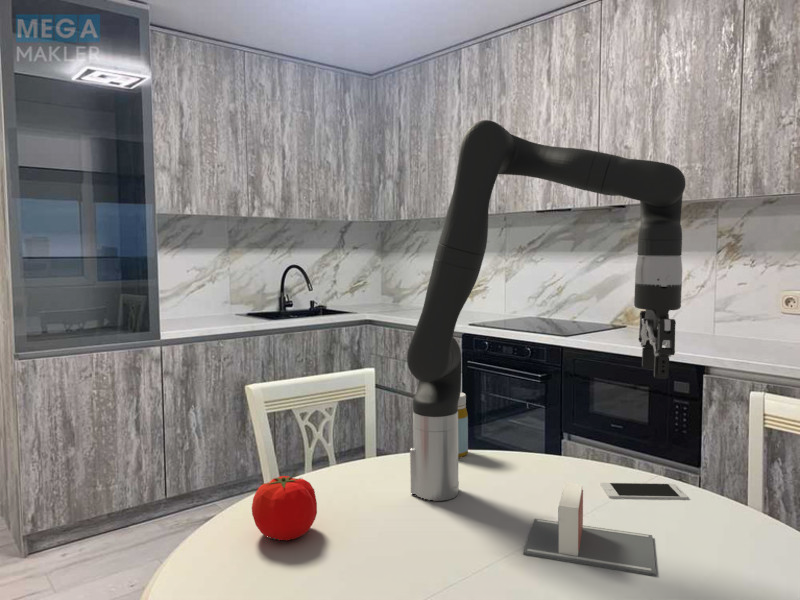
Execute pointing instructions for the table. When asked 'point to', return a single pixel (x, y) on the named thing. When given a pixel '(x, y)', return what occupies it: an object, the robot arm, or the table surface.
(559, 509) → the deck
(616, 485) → the smartphone
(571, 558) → the mat
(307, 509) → the tomato
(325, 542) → the table surface
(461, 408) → the bottle
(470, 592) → the table surface
